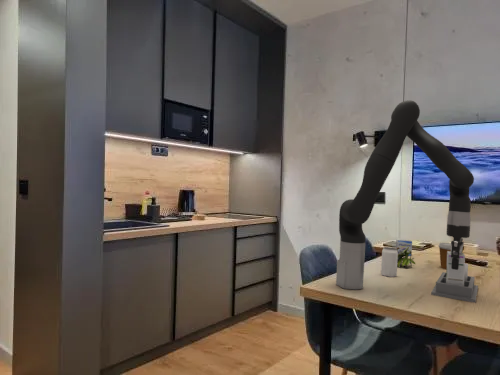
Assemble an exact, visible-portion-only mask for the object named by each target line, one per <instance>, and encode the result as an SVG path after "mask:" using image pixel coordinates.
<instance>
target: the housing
mask: <svg viewBox="0 0 500 375" xmlns="http://www.w3.org/2000/svg"><path fill="white" fill-rule="evenodd" d="M468 273H469V264H468V263H467V262H466V263H465V274H464V286H459V285H453V284H447V283H446V272H444V271H442V273H441V274H440V276H439V277H438V279H437V281H436V282H435V285H434V287H433V288H432V290H431V292H430V296H436V297H440V298H448V299H453V300H458V301H464V302H470V303H475V304H476V303H477V302H476V301H477V297H476V296H478V289H479V285H477V284H476V285H475V278H476V277H475V276H471V275H469V274H468Z"/></svg>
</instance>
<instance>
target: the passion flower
mask: <svg viewBox="0 0 500 375" xmlns="http://www.w3.org/2000/svg"><path fill="white" fill-rule="evenodd" d="M395 248H396V247H395ZM408 248H409V247H407V249H406V248H404V249H402V250H400V251H397V252H398V259H397V268H399V269H400V268H401V267H402V268H403V267H405V266H406V267H407V266H409V265H410V268H412V266H413V265H416V262H415V261H414V259H415V257H412V255H413V253H412V252H413V251H412V252H411V250H410V251H409V252H410V253H409V252H407V250H408ZM396 249H397V250H398V249H399V247H398V248H396ZM409 254H412V255H410V256H408V255H409ZM412 264H413V265H412Z"/></svg>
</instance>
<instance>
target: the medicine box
mask: <svg viewBox="0 0 500 375" xmlns="http://www.w3.org/2000/svg"><path fill="white" fill-rule="evenodd" d="M395 243H396V244H395V248H398V247H399V249H398V250H397V251H400V250H402V249H404V248H406V249H407V247H409V248H408V250H407V252H409V251H410V250H411V252H413V251H412V250H413V241H412V240H409V239H408V240H406V239H396V242H395ZM409 253H410V252H409ZM410 255H411V256H412V255H413V253H412V254H409V255H408V257H410Z"/></svg>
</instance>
